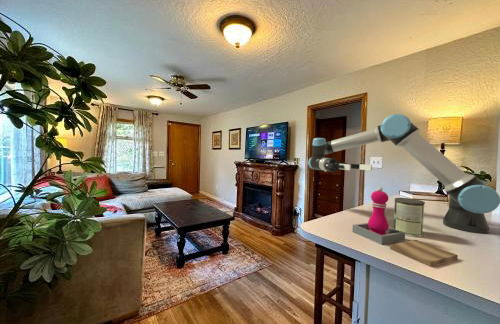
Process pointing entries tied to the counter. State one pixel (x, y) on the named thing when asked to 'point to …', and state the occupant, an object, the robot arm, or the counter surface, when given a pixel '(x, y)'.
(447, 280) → the counter surface
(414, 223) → the coffee can
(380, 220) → the pepper mill
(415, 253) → the board
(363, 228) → the holder
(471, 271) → the counter surface
